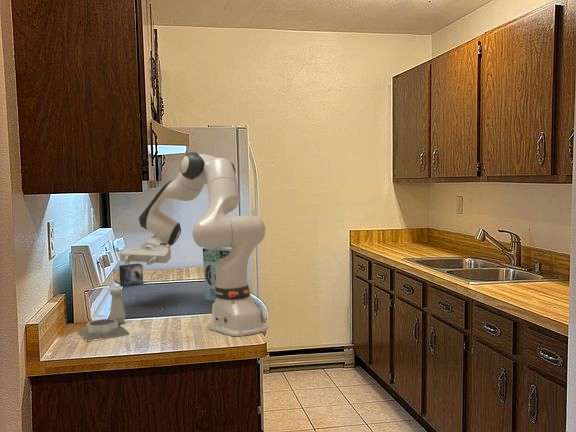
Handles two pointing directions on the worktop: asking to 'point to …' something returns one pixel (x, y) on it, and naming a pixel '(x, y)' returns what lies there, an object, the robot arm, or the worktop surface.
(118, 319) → the salt shaker
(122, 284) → the small box
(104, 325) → the duct flange
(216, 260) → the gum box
